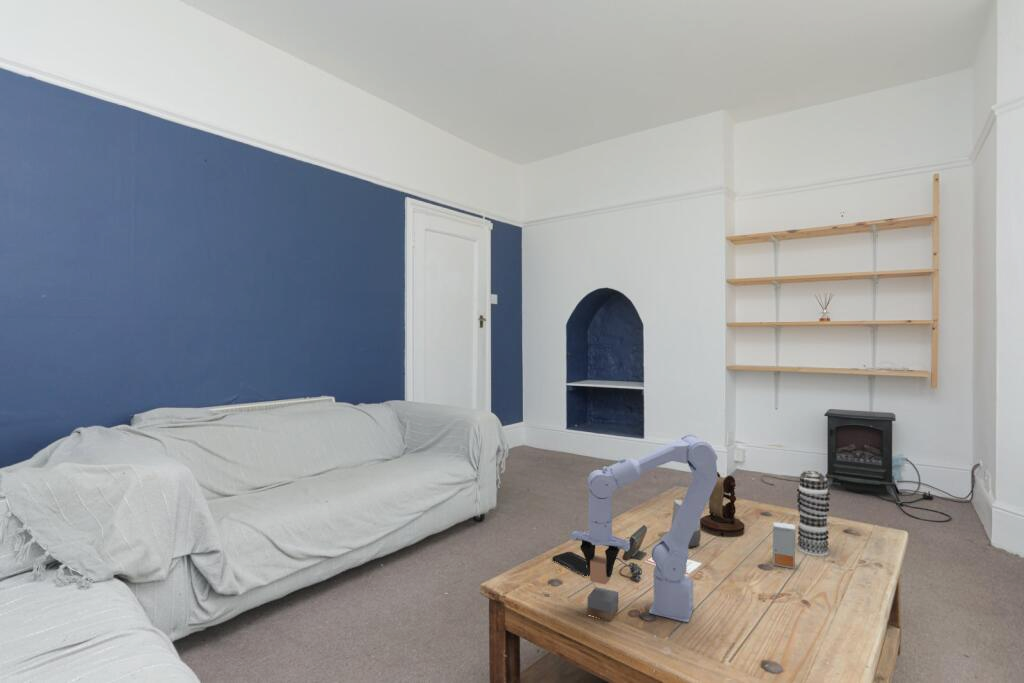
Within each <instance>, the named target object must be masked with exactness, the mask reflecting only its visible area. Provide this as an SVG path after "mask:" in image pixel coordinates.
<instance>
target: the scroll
mask: <svg viewBox="0 0 1024 683" xmlns="http://www.w3.org/2000/svg"><path fill="white" fill-rule="evenodd" d="M717 477H718V479H717V483H716V485H715V487H714V489H713V491H712V494H711V496H710V498H709V500H708V510H709V511H708V513H709V514H707V515H704V516H701V518H700V520H699V523H700V528H704V529H706V530H709V531H711V532H716V533H720V536H721V537H724V536H725V534H737V533H743V532H744V530H745V529H746V528H745V526H746V525H745V524H744V522H743V521H741V520H740V519H738V518H737V517H736V505H735V502H736V501H737V497H736V496H735V495H736V492H735V489H736V488H735V487H736V480H735V477H734V476H732V475H727V476H725V477H724V478H723V477H721V473H719V472H718V471H717ZM729 494H730V495H729ZM724 498H725V499H727V500H729V501H728V502H727V503H725V505H724Z"/></svg>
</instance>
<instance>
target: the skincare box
mask: <svg viewBox="0 0 1024 683" xmlns="http://www.w3.org/2000/svg"><path fill="white" fill-rule="evenodd" d="M772 524H773V525H772V566H777V567H783V568H788V569H792V570H795V569H796V566H795V565H796V530H797V529H796V524H790V523H784V522H776V521H773V523H772Z"/></svg>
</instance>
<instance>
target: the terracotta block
mask: <svg viewBox="0 0 1024 683" xmlns="http://www.w3.org/2000/svg"><path fill="white" fill-rule="evenodd" d="M611 579H612V575H611V576H610V577H607V561H606V556H602V555H597V554H595V556H594V557H593V559H592V560H591V561H590V576H589V581H590V582H593V583H597V584H602V585H607V583H608V582H609V581H610V580H611Z"/></svg>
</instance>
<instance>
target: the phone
mask: <svg viewBox="0 0 1024 683" xmlns="http://www.w3.org/2000/svg"><path fill="white" fill-rule="evenodd" d="M553 560H554V561H553ZM552 561H553V562H555V561H556V562H558V563H560V564H562V565H564V566H566V567H568V568H570V569H571V570H570V569H569V570H570V571H572V570H573V571H572V572H574V571H575V572H574V573H576V572H577V573H579V574H581V575H584V576H587V575H590V573H589V570H588V569H587V568H586V565H587V561H586V559H585V557H583V556H580V555H579V554H577V553H574V552H572V551H565V552H563V553H559V554H556V555H553V556H552ZM556 562H555V563H556ZM558 563H557V564H558ZM560 564H559V565H560ZM562 565H561V566H562ZM564 566H563V567H564ZM566 567H565V568H566ZM568 568H567V569H568ZM577 573H576V574H577ZM579 574H578V575H579ZM581 575H580V576H581ZM584 576H583V577H584Z"/></svg>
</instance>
